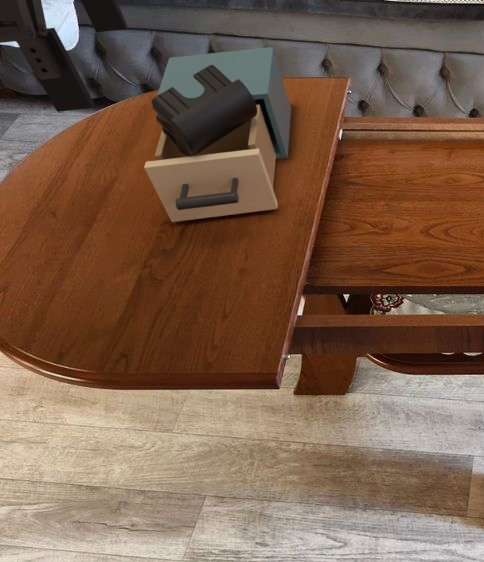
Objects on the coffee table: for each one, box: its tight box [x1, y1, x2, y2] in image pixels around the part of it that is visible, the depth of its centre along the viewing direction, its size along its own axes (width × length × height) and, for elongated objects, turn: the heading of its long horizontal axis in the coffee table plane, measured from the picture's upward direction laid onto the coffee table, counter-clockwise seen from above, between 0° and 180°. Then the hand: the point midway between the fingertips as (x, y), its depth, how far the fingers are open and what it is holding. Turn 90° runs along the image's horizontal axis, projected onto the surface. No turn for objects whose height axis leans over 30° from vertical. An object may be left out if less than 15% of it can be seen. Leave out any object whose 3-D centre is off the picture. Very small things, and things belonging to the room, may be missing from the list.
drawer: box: [143, 105, 279, 223], centre depth 87 cm, size 16×13×9 cm
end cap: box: [151, 65, 257, 157], centre depth 84 cm, size 10×7×7 cm
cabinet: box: [156, 46, 292, 160], centre depth 97 cm, size 13×15×11 cm
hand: (95, 65), depth 60 cm, fingers open, 13 cm apart
